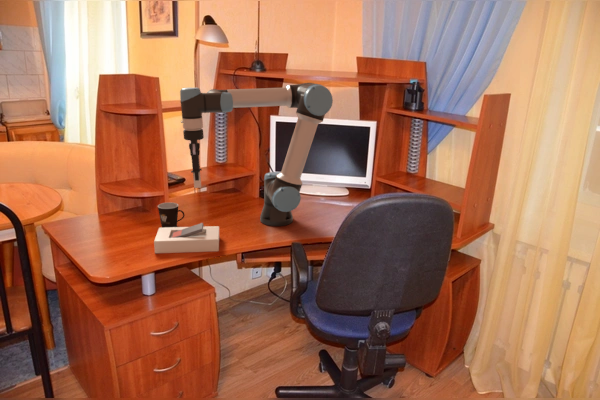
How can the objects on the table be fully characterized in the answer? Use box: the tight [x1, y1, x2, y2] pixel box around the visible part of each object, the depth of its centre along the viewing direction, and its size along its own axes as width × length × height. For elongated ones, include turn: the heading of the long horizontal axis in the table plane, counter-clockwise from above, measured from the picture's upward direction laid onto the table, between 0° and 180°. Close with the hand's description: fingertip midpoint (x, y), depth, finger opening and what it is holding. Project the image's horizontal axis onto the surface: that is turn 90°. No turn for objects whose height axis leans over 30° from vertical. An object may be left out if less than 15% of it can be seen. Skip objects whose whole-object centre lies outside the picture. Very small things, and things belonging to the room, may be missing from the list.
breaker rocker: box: [171, 222, 205, 238], centre depth 175 cm, size 13×7×1 cm, turn 98°
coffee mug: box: [157, 201, 186, 228], centre depth 192 cm, size 12×9×10 cm
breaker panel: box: [153, 225, 220, 254], centre depth 176 cm, size 24×14×5 cm, turn 99°
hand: (197, 187), depth 178 cm, fingers closed
